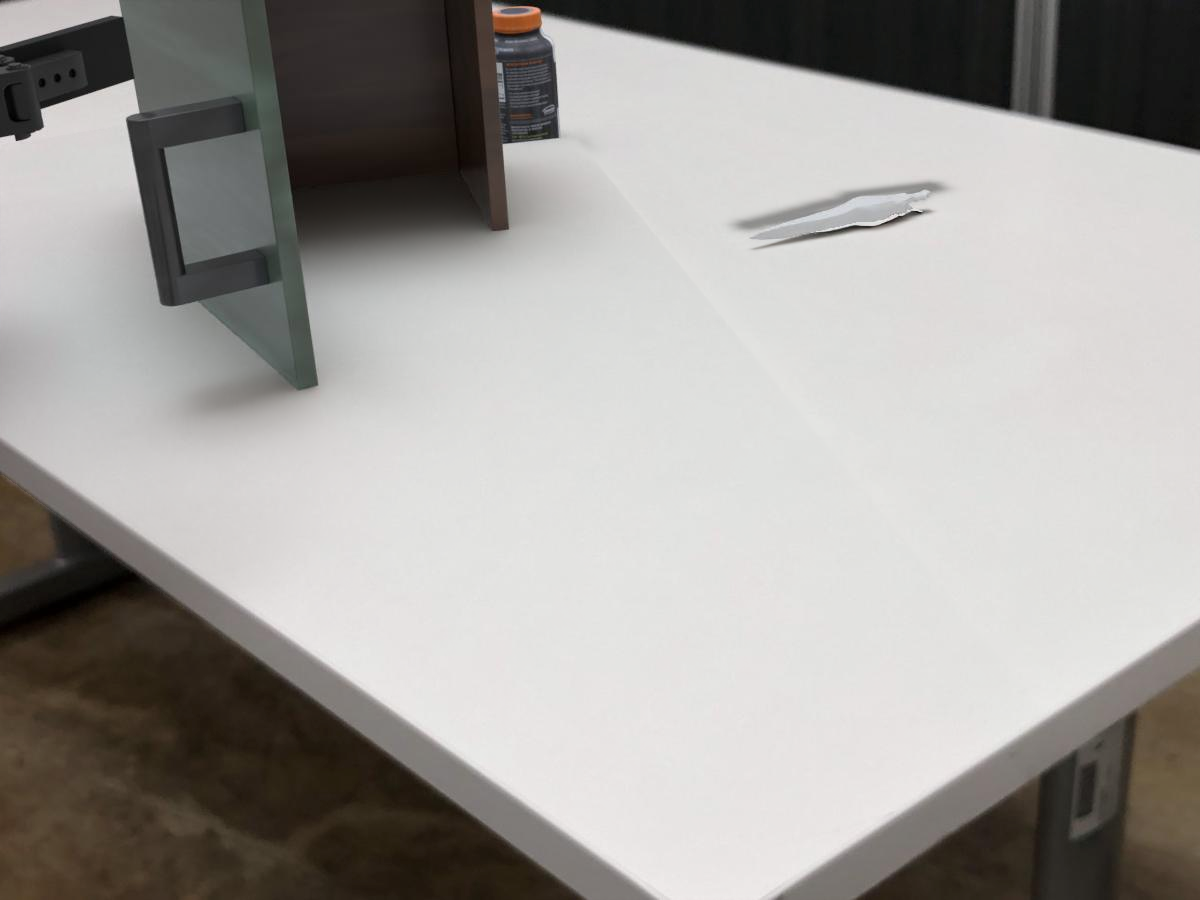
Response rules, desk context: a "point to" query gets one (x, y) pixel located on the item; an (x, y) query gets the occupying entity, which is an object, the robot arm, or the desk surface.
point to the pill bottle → (525, 76)
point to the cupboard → (390, 93)
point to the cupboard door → (218, 173)
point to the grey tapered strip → (845, 215)
